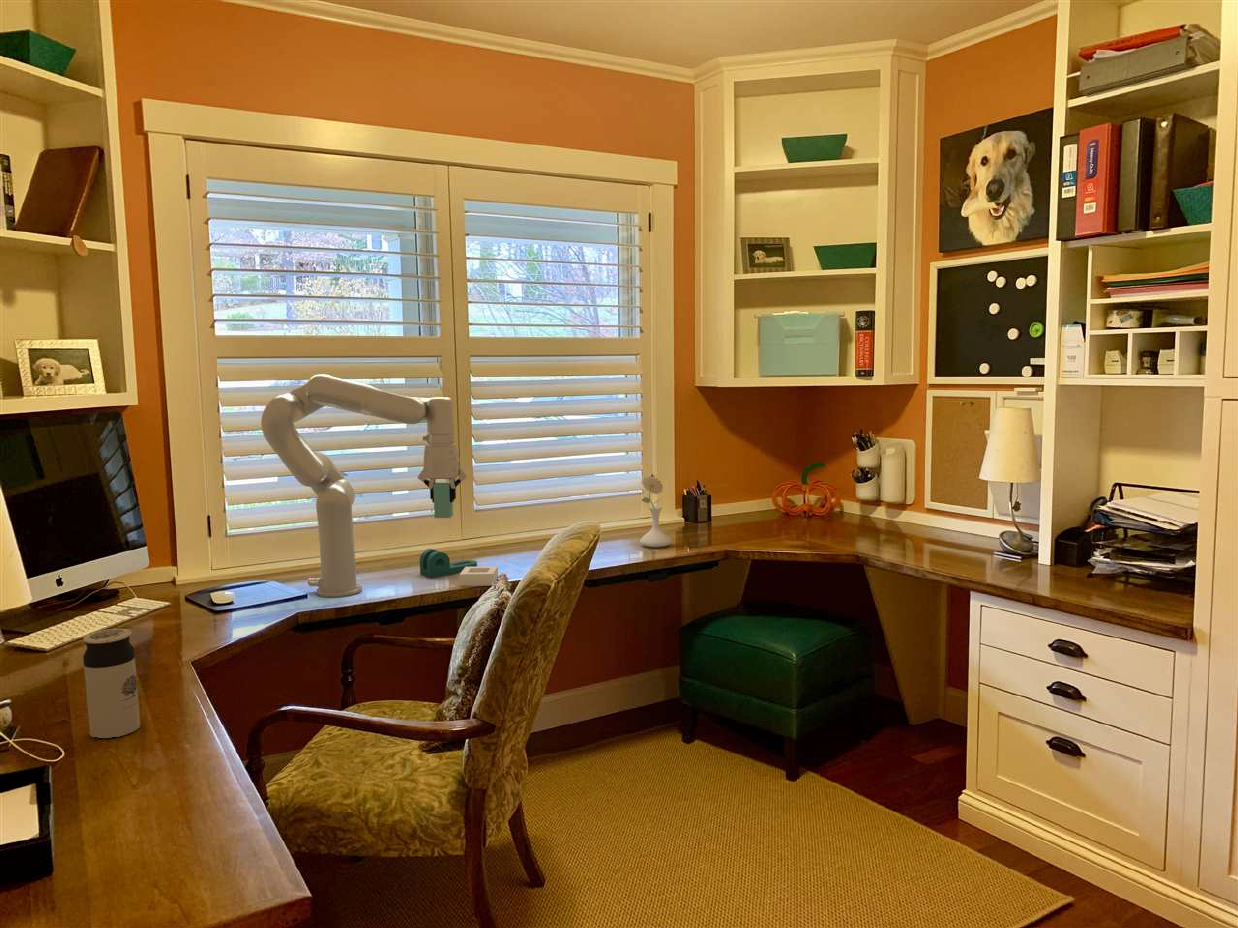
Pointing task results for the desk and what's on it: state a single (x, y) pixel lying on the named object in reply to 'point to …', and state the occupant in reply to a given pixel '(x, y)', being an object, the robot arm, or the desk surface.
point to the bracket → (441, 564)
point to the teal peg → (442, 500)
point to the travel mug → (111, 683)
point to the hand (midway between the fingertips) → (443, 501)
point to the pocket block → (478, 576)
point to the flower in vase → (654, 516)
